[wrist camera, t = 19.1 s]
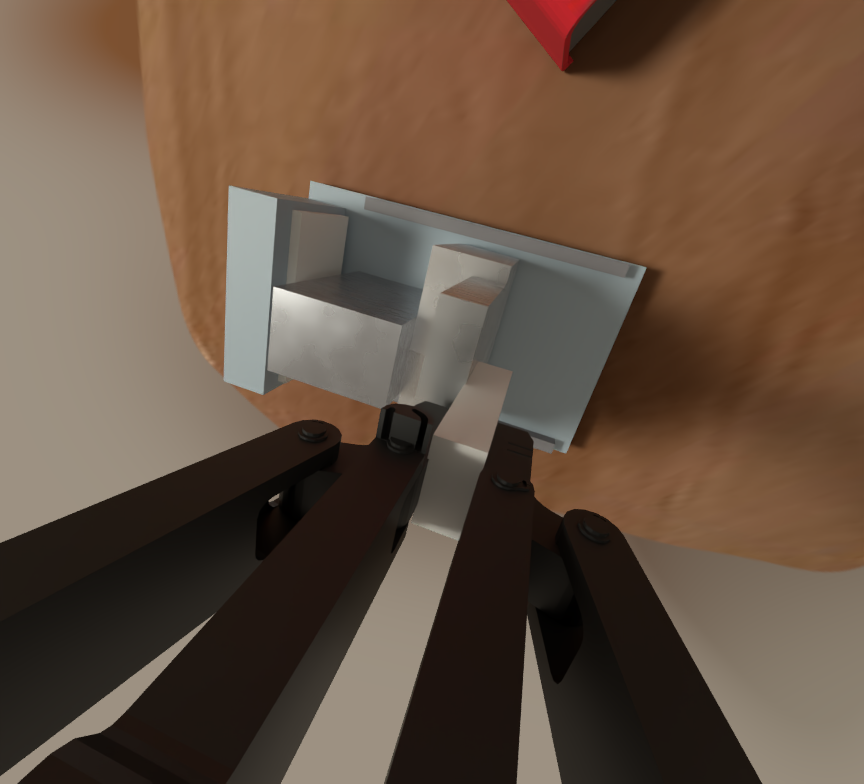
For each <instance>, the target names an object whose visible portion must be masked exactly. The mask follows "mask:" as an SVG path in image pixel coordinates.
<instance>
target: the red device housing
mask: <svg viewBox="0 0 864 784" xmlns="http://www.w3.org/2000/svg"><path fill="white" fill-rule="evenodd" d="M507 1H508V3H509V4H510V5H511V7H512V8H513V9H514V10H515V12H516V13H517V14H518V15H519V17H520V18H521V19H522V21H523V22H524V23H525V24H526V26H527V27H528V28H529V30H530V31H531V32H532V33H533V35H534V36H535V37H536V39H537V40H538V41H539V42H540V44H541V45H542V46H543V47H544V49H545V50H546V51H547V53H548V54H549V55H550V56H551V58H552V59H553V60H554V62H555V63H556V64H557V65H558V67H559V68H560V69H561V71H564V70H566V68H567V67H568V66H569V65H570V64H571V63H572V62H573V61H574V60H573V59H572V58H571V56H570V55H569V52H570V51H571V50H572V49H573V48H574V46H575V45H576V44H577V43H578V42H579V41H580V40H581V39H582V38H583V37H584V35H585V34H586V33H587V32H588V31H589V30H590V29H591V28H592V27H593V26H594V24H595V23H596V22H597V21H598V20H599V19H600V18H601V17H602V16H603V15H604V14H605V12H606V11H607V10H608V9H609V8H610V7H611V6H612V5H613V4H614V3H615V1H616V0H507Z"/></svg>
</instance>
